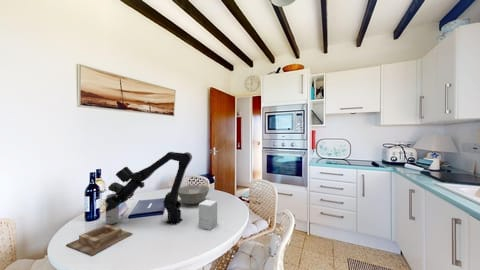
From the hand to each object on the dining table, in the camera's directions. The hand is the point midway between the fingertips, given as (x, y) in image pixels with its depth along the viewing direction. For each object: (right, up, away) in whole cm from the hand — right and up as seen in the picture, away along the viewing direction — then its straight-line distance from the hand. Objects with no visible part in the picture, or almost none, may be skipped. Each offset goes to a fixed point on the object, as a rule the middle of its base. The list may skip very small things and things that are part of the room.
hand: (109, 208), depth 105 cm
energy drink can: (+1, -8, 0) cm, 8 cm away
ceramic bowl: (+38, -8, +31) cm, 50 cm away
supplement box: (+54, -9, -2) cm, 55 cm away
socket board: (+7, -8, -17) cm, 20 cm away
